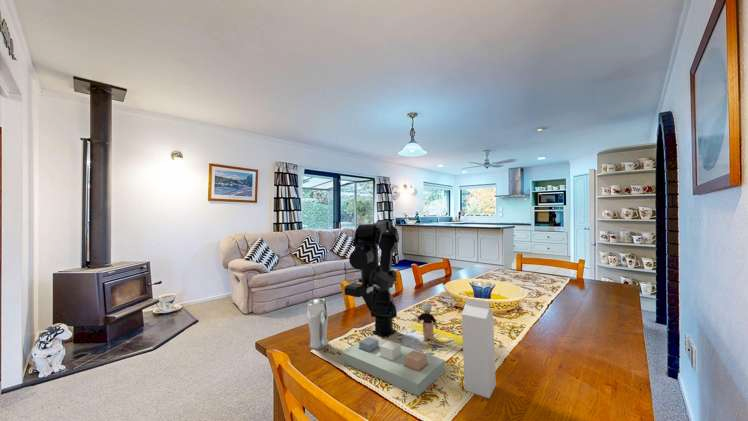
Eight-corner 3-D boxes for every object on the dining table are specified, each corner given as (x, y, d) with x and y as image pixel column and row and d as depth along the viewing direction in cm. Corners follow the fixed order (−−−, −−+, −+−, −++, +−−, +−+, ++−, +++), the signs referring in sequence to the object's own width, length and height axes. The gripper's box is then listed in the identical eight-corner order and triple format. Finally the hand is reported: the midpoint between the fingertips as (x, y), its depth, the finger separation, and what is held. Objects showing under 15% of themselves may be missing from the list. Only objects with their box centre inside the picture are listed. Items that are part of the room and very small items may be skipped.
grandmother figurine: (440, 339, 100) (439, 302, 100) (437, 344, 97) (436, 306, 97) (418, 336, 104) (417, 300, 104) (415, 340, 100) (414, 303, 100)
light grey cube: (389, 355, 87) (389, 340, 87) (401, 359, 84) (400, 344, 84) (380, 361, 84) (380, 345, 84) (392, 366, 81) (392, 350, 81)
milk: (472, 378, 77) (468, 295, 77) (496, 386, 73) (492, 298, 73) (464, 390, 72) (460, 301, 72) (489, 399, 68) (485, 305, 68)
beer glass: (324, 350, 95) (323, 304, 95) (305, 349, 97) (303, 304, 97) (332, 341, 102) (330, 298, 102) (313, 339, 103) (311, 297, 103)
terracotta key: (413, 366, 82) (413, 350, 82) (427, 371, 79) (426, 354, 79) (405, 372, 78) (404, 356, 78) (418, 378, 76) (418, 361, 76)
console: (371, 344, 98) (371, 335, 98) (445, 370, 81) (444, 359, 81) (341, 361, 88) (341, 351, 88) (418, 396, 70) (418, 383, 70)
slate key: (368, 350, 93) (368, 336, 93) (378, 354, 90) (378, 340, 90) (359, 356, 89) (359, 341, 90) (369, 360, 87) (369, 345, 87)
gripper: (370, 271, 82) (372, 326, 82) (406, 260, 96) (408, 307, 96) (342, 267, 89) (344, 318, 89) (379, 257, 103) (381, 301, 103)
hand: (371, 310), depth 94 cm, fingers closed
